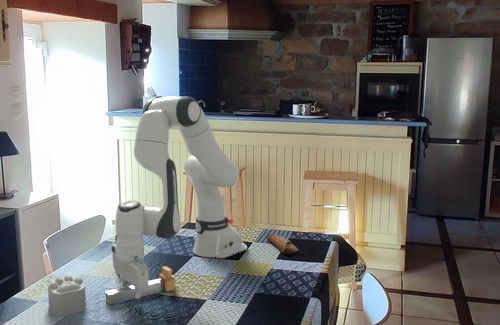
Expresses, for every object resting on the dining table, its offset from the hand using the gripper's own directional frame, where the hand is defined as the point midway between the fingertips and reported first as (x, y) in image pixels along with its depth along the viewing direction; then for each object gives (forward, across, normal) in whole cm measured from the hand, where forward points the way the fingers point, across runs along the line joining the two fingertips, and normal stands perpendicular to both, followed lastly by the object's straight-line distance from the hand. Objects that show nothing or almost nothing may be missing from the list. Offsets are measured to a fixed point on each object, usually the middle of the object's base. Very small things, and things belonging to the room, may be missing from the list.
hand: (131, 292), depth 175 cm
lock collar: (+2, 0, -13) cm, 13 cm away
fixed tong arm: (+2, +1, -4) cm, 4 cm away
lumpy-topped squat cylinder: (+2, +6, +19) cm, 20 cm away
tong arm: (+2, -1, -1) cm, 2 cm away
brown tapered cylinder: (+3, +10, -73) cm, 73 cm away
